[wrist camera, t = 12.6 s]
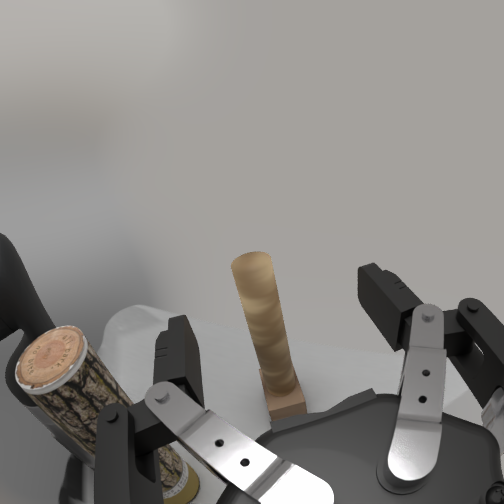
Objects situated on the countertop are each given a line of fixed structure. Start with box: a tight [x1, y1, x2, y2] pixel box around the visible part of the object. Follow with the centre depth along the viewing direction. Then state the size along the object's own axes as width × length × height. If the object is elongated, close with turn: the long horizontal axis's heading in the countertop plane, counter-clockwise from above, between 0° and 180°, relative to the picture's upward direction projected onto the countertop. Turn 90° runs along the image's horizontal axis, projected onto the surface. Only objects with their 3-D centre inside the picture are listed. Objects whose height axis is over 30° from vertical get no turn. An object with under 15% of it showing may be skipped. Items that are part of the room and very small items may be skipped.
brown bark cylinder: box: [15, 326, 199, 504], centre depth 24 cm, size 7×7×25 cm
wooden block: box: [259, 364, 307, 421], centre depth 37 cm, size 7×4×5 cm, turn 9°
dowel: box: [231, 252, 296, 397], centre depth 32 cm, size 4×4×18 cm
